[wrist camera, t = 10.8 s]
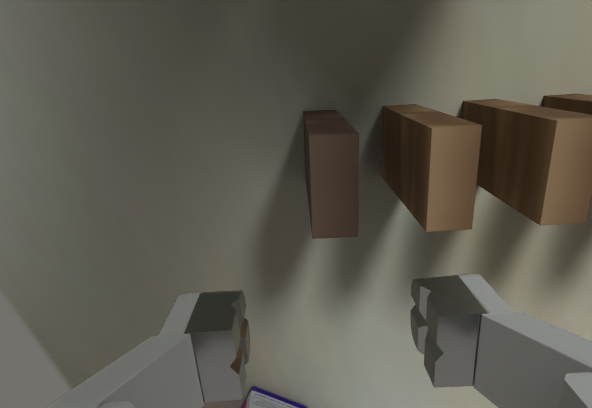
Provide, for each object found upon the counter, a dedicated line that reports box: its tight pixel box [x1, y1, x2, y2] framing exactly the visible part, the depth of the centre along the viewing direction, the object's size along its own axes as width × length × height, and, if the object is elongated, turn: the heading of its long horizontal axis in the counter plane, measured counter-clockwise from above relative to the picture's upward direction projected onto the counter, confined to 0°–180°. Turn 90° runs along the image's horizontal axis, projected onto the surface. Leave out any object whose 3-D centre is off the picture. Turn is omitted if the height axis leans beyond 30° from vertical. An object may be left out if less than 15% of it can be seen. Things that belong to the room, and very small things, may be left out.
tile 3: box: [462, 99, 592, 225], centre depth 22 cm, size 2×5×10 cm, turn 4°
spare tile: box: [303, 110, 359, 239], centre depth 23 cm, size 2×5×10 cm, turn 3°
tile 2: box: [382, 104, 482, 232], centre depth 23 cm, size 2×5×10 cm, turn 4°
